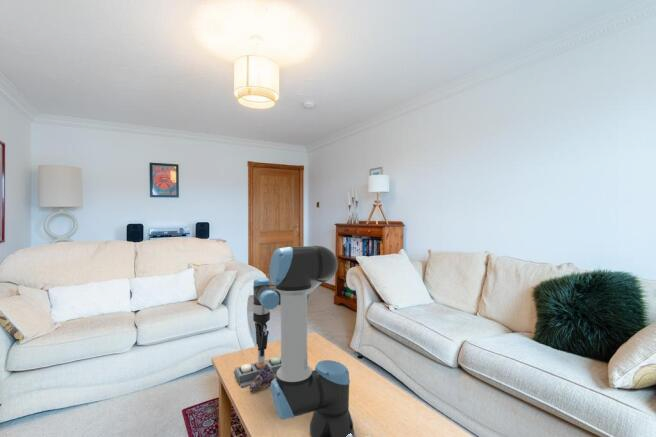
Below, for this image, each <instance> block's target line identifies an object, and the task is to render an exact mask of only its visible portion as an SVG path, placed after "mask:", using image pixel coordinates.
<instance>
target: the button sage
mask: <svg viewBox="0 0 656 437" xmlns="http://www.w3.org/2000/svg"><path fill="white" fill-rule="evenodd" d="M279 357H280V356H273V357H272V358H270V359H271V365H272V366H275V365H278V364H280V358H279Z"/></svg>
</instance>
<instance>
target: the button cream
mask: <svg viewBox="0 0 656 437" xmlns="http://www.w3.org/2000/svg"><path fill="white" fill-rule="evenodd" d="M250 364H251V363H244V364H242V365H241V366H240V367H241V373H242V374H244V373H248V372H251V365H250Z"/></svg>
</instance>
